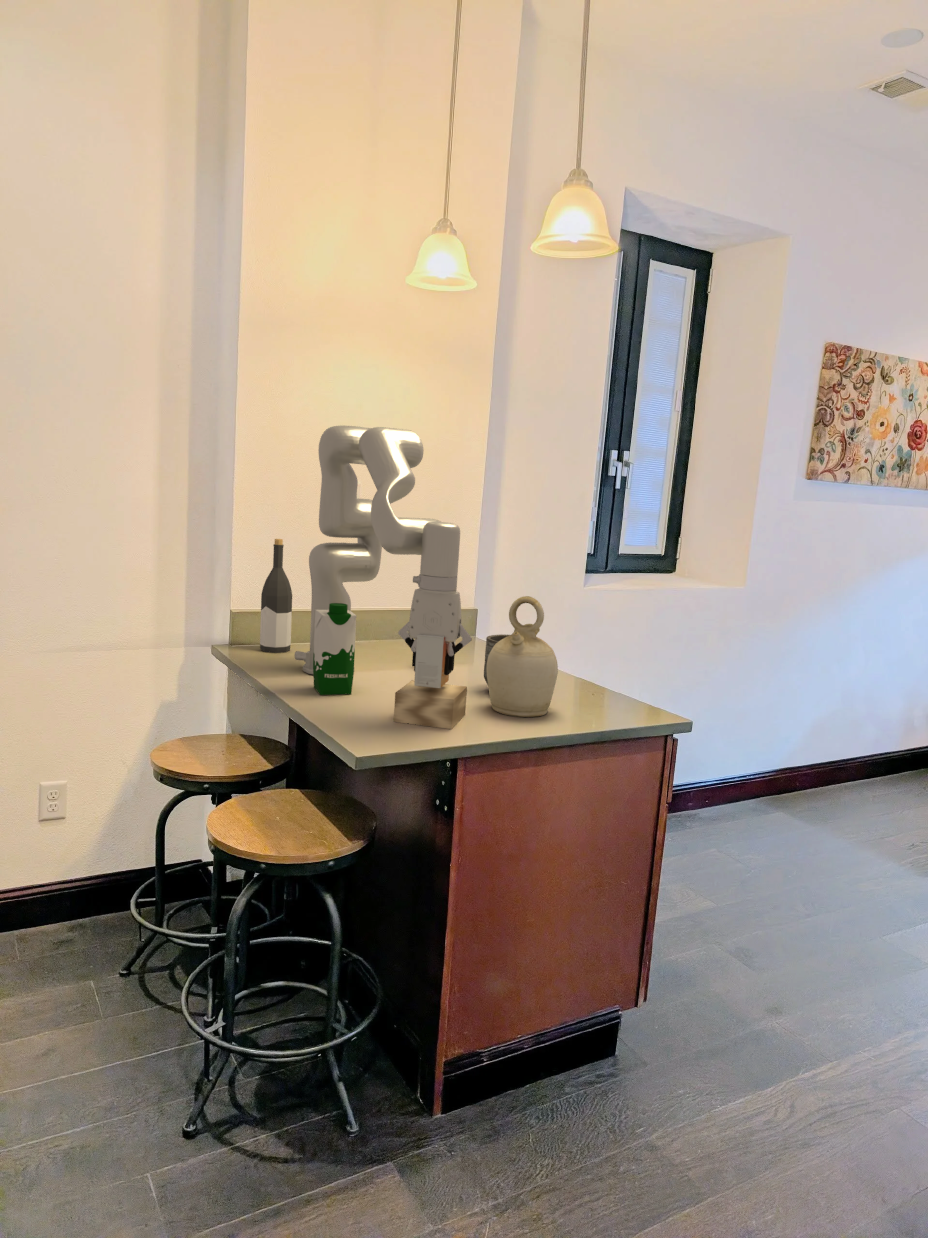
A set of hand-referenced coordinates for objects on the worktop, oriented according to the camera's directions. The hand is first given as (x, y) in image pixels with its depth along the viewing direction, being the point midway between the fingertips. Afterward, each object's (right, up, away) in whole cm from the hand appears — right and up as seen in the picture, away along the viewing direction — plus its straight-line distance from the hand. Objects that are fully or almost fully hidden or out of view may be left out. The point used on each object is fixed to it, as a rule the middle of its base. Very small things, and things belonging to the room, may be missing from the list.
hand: (432, 671), depth 180 cm
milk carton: (-23, -6, +18) cm, 30 cm away
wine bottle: (-45, +2, +58) cm, 74 cm away
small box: (0, -3, 0) cm, 3 cm away
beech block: (-1, -10, +1) cm, 10 cm away
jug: (+18, -9, +12) cm, 24 cm away
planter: (+17, -7, +28) cm, 33 cm away
